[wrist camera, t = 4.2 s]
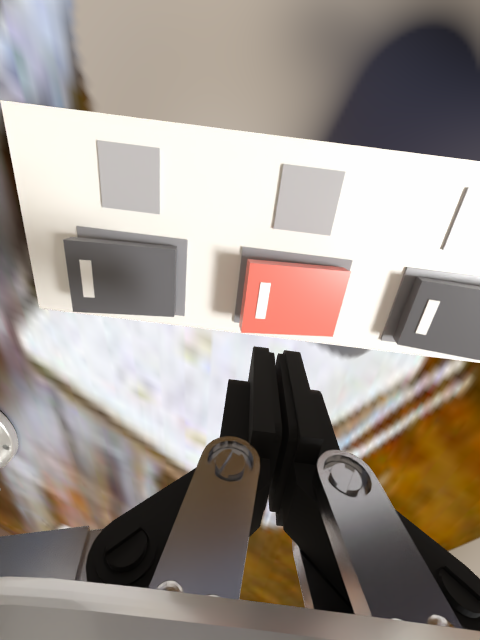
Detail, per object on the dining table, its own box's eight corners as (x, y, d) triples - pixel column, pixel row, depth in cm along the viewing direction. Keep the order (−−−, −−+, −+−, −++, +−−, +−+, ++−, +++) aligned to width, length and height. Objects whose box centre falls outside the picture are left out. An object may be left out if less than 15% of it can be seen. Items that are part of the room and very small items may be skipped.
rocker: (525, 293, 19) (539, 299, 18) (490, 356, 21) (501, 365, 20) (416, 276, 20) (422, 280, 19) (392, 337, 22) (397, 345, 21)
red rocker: (342, 267, 20) (351, 272, 19) (326, 329, 22) (333, 337, 21) (247, 258, 19) (250, 263, 18) (239, 325, 21) (241, 333, 20)
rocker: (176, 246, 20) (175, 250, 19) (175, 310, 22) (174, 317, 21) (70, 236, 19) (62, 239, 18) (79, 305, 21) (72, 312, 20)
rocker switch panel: (731, 204, 21) (835, 206, 18) (612, 360, 27) (671, 387, 23) (44, 116, 21) (-3, 99, 17) (68, 293, 27) (37, 309, 23)
